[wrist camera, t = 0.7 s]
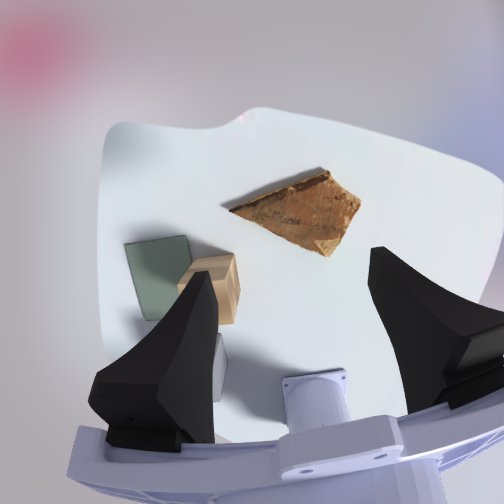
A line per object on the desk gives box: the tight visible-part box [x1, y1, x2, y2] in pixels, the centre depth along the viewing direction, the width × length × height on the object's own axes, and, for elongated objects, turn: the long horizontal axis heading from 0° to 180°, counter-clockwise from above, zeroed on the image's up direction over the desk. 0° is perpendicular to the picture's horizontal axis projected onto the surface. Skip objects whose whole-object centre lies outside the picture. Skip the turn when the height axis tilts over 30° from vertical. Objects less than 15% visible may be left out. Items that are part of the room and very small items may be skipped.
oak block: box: [177, 254, 241, 325], centre depth 28 cm, size 4×4×7 cm
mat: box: [125, 236, 192, 321], centre depth 32 cm, size 9×7×1 cm
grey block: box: [213, 334, 228, 402], centre depth 31 cm, size 4×4×7 cm
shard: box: [229, 170, 361, 257], centre depth 29 cm, size 11×8×2 cm
